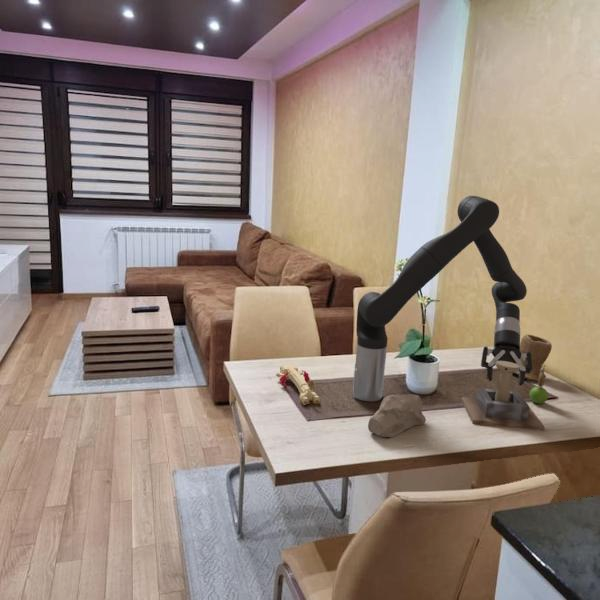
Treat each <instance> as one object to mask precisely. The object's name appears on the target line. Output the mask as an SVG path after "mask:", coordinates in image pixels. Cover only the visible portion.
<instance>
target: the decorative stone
mask: <svg viewBox="0 0 600 600" xmlns="http://www.w3.org/2000/svg"><path fill="white" fill-rule="evenodd" d="M422 402H423V401H422V399H421V397H420V395H418V394H412V393H408V394H390V395H389V394H388V395H387V396H386V397H383V399H382V401H381V402H380V405H379V409H377V411H376V412H374V414H373V415H372V417H370V418H369V421H368V425H367V427H368V431H369V432H370V433H372V434H373V435H376V436H378V437H382V438H391V439H392V438H395V437H396V436H398V435H400V434H401V433H403V432H404V431H406V430H409V429H411V428H412V427H416V426H422V425H424V424H425V423H426V417H425V415H424V414H423V403H422Z"/></svg>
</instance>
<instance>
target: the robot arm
mask: <svg viewBox="0 0 600 600" xmlns="http://www.w3.org/2000/svg"><path fill="white" fill-rule="evenodd" d="M499 215H500V207H499V205H498V204H497V203H496V202H494V201H492V200H490V199H489V198H485V197H480V196H478V195H468V196H466V197H464V198H462V199H461V201H460V202H459V204H458V207H457V216H458V219H459V221H460V223H459V224H458V225H457V226H455V227H454V228H453V229H450V230H449V231H448V232H445V233H443V234H442V235H439V236H437V237H435V238H433V239H431V240H428V241H427V242H425V243H424V244H423V245H422V246H420V248H418V249H417V250H416V251H415V252H414V253H413V254H412V255H411V256H410V257H409V258H408V260H407V261H406V262H405V264H404V266H403V268H402V269H401V271H400V273H399V275H398V277H397V278H396V280H394V282H393V283H392V284H391V285H390V286H389V287H388V288H387V289H385V290H384V291H383V292H382V293H379V292H375V291H371V292H367V293H365V294H364V295H362V297H361V298H360V299H359V302H358V305H357V309H356V311H357V315H356V327H355V328H356V337H357V340H356V351H355V352H356V353H355V354H356V355H355V363H354V371H353V384H352V385H353V386H352V399H357V400H360V401H364V402H378V401H380V400H381V399H382V398H383V391H384V390H383V388H384V379H385V370H386V358H387V351H388V350H387V348H388V341H389V340H388V339H389V338H388V335H387V332H386V325H388V324H389V323H390V322H391V321H393V319H394V318H395V317H396V315H398V314H399V312H400V311H401V310H402V309H403V307H405V306H406V304H408V302H409V301H410V300H411V299H412V298H413V297H414V296H415V295H416V294H417V293H418V292H419V291H420V290H422V288H423V287H425V286H426V285H427V284H428V283H429V282H430V281H431V280H433V279H434V278H435V276H437V275H438V274H439V273H440V272H441V271H442V270H443V269H445V267H446V266H448V264H450V262H451V261H453V259H454V258H456V257H457V256H458V255H459V254H460V253H461V252H462V251H464V250H465V249H466V248H467V247H468V246H469V245H470V244H471V243H474V244H475V246H476V248H477V249H478V252H479V253H480V256H481V258H482V260H483V262H484V264H485V268H486V270H487V272H488V274H489V277H490V279H491V280H492V281H494V282H495V283H494V284H493V286H492V287H491V296H492V298H493V301H494V306H495V311H496V312H495V314H496V315H495V326H494V331H493V334H494V335H493V348H488V346H484V347H483V349H482V355H481V361H480V367H481V368H485V369H486V379H488V381H489V382H491V381H492V380H493V373H494V371H493V367H496V362H497V361H507V362H512V363H515V364H518V365H519V370H518V371H519V375H518V386H522V385H523V384H525V382H526V378H525V374H526V373H528V374H529V373H530V372H531V370H532V358H531V353H530V352H528V353H527V354H525V353H521V352H520V343H521V324H520V322H521V321H520V317H521V316H520V315H521V312H520V311H521V310H520V306H518V304H515V303H514V302H519V301H521V300H524V299H525V298H526V296H527V293H528V289H527V286H526V283H525V282H524V280H523V279H522V278H521V277H520V276H519V275H518V274H517V273H516V271H515V269H514V268H513V267H512V265H511V261H510V259H509V256H508V254H507V253H506V251H505V249H504V248H503V247H502V245H501V243H500V242H499V241H498V240H497V238H496V237H495V236H494V235H493V233H492V231H491V230H490V229H491V228H492V227H493V226H494V225H495V223H496V222H497V221H498V218H499ZM511 302H513V303H511ZM490 354H492V356H493V358H492V360H490V361H489V362H487V359H488V356H490ZM521 357H522V358H523V360H524V361H526V368H524V366H523V365H522V363H521V361H520V360H519V359H520V358H521Z"/></svg>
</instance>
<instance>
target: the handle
mask: <svg viewBox="0 0 600 600" xmlns="http://www.w3.org/2000/svg"><path fill="white" fill-rule="evenodd" d="M495 367H496V369H498V370H499V372H500V373H499V377H498V383H497V387H496V389H495V390H496V396H495V401H500V402H509V398H510V391H512V388H511V387H512V379H513V372H517V371H518V370H519V365H518V364H515V363H512V362H507V361H497V362H496V365H495Z"/></svg>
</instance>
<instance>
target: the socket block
mask: <svg viewBox="0 0 600 600" xmlns="http://www.w3.org/2000/svg"><path fill="white" fill-rule="evenodd" d="M496 390H497V389H495V388H482V387H481V388H480V387H478V388H477V395H476V397H468V396H467V397H466V396H461V399H460V401H461V403H462V405H463V407H464V408H465V411H466V413H467V415H468V418H469V419H470V422H471V423H472V424H473V425H483V426H494V427H495V426H496V427H504V428H505V427H507V428H515V429H516V428H517V429H527V430H539V431H544V429H545V425H544V424H543V422H541V420H540V419H539V417H538V416H537V415H536V414H535V412H534V411H533V410H532V408H531V407H530V406H529V404H528V402H526V400H525V399H524V398H523V397H522V395H521V394H520V392H519V391H514V390H511V391H510V398H509V402H500V401H495V396H496Z"/></svg>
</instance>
